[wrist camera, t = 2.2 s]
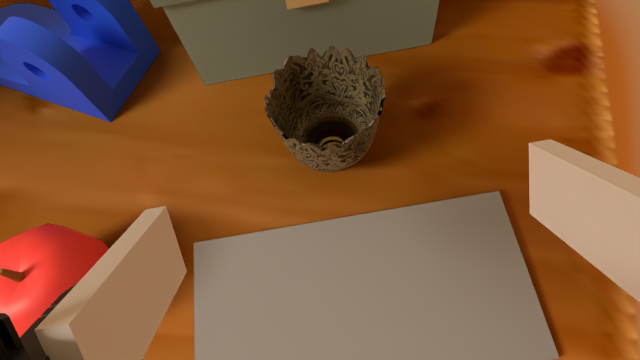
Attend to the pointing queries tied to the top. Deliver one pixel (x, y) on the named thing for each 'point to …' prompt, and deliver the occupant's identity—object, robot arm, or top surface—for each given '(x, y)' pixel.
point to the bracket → (75, 53)
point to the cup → (326, 107)
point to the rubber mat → (373, 289)
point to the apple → (42, 269)
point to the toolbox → (291, 31)
